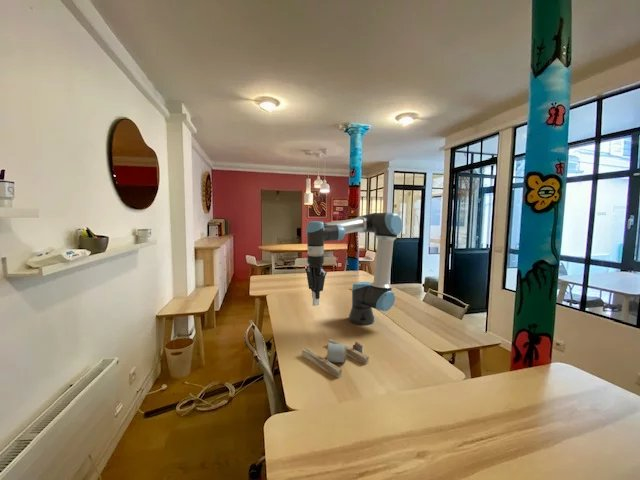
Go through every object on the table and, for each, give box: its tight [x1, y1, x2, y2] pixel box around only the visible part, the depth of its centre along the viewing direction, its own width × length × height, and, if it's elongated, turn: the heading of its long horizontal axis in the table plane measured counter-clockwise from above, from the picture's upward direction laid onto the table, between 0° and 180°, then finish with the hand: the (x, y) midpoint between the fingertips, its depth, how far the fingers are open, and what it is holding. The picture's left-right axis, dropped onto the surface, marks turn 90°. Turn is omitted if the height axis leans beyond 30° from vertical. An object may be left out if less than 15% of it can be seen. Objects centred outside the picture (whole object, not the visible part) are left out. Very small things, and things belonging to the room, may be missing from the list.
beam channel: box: [301, 338, 370, 379], centre depth 125 cm, size 22×23×5 cm
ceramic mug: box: [326, 342, 347, 364], centre depth 123 cm, size 11×8×8 cm
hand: (315, 305), depth 133 cm, fingers closed
